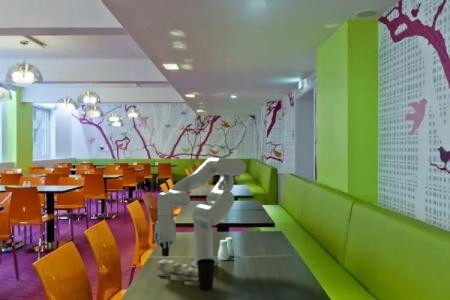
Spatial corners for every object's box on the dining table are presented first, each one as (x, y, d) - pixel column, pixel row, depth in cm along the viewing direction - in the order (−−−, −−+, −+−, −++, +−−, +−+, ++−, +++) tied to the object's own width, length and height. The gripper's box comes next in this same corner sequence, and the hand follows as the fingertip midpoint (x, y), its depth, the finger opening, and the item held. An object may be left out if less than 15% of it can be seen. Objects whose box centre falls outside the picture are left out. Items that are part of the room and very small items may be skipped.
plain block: (174, 272, 206) (174, 260, 206) (168, 276, 200) (168, 263, 200) (163, 271, 208) (163, 259, 208) (157, 275, 202) (157, 262, 202)
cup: (214, 285, 188) (214, 258, 187) (214, 291, 180) (214, 263, 180) (197, 285, 187) (197, 258, 187) (196, 291, 180) (196, 263, 179)
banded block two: (202, 281, 193) (202, 268, 193) (197, 286, 187) (197, 272, 187) (190, 280, 195) (190, 267, 195) (184, 284, 189) (184, 271, 189)
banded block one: (188, 277, 200) (188, 264, 199) (182, 281, 194) (182, 268, 194) (176, 275, 202) (176, 263, 202) (170, 279, 196) (170, 266, 196)
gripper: (174, 215, 211) (173, 251, 212) (148, 218, 202) (147, 256, 202) (182, 217, 206) (182, 254, 206) (156, 220, 196) (156, 260, 196)
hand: (165, 255), depth 204 cm, fingers closed
